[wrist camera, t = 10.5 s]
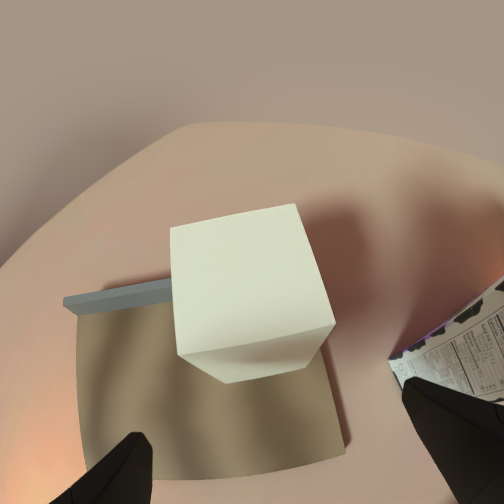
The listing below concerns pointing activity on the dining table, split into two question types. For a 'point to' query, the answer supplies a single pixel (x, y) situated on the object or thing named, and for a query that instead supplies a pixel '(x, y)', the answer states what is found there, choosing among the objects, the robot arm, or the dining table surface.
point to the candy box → (462, 349)
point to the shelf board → (195, 403)
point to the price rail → (120, 297)
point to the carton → (247, 294)
